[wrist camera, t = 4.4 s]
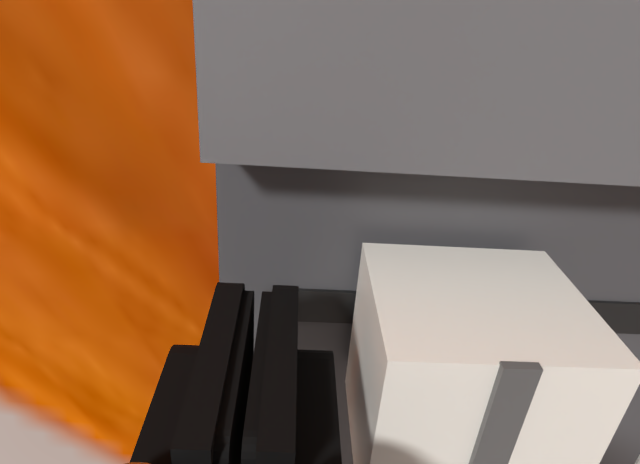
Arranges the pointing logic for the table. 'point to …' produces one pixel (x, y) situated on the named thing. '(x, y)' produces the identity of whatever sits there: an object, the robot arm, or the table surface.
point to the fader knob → (480, 361)
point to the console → (423, 148)
